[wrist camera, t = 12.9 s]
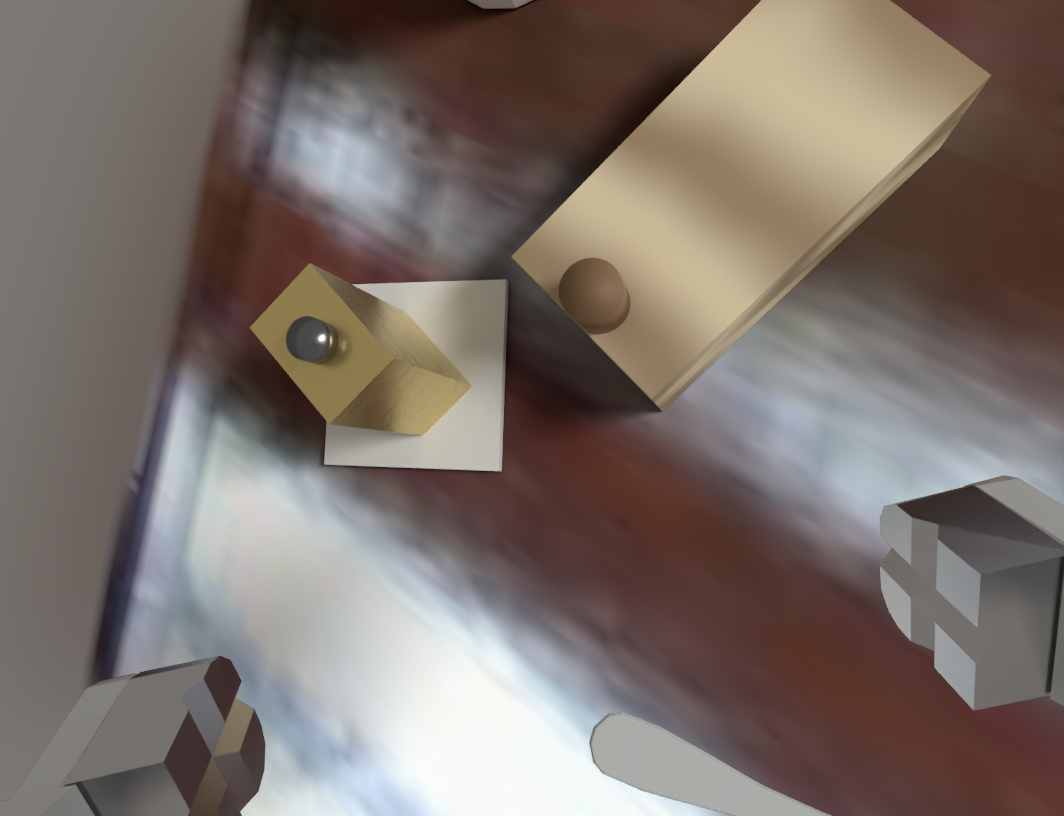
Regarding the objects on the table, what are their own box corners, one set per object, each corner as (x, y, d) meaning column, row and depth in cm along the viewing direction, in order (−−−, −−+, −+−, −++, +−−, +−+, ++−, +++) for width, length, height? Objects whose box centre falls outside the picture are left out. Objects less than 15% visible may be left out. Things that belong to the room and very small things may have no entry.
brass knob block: (406, 312, 30) (295, 256, 22) (472, 385, 29) (381, 354, 21) (359, 360, 31) (233, 322, 23) (423, 435, 30) (315, 422, 22)
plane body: (797, 37, 28) (824, -104, 21) (938, 149, 26) (1019, 35, 19) (544, 291, 29) (493, 238, 22) (662, 411, 28) (646, 392, 21)
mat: (339, 287, 32) (334, 285, 31) (508, 281, 30) (505, 279, 29) (329, 464, 31) (324, 464, 31) (501, 471, 29) (498, 471, 29)
